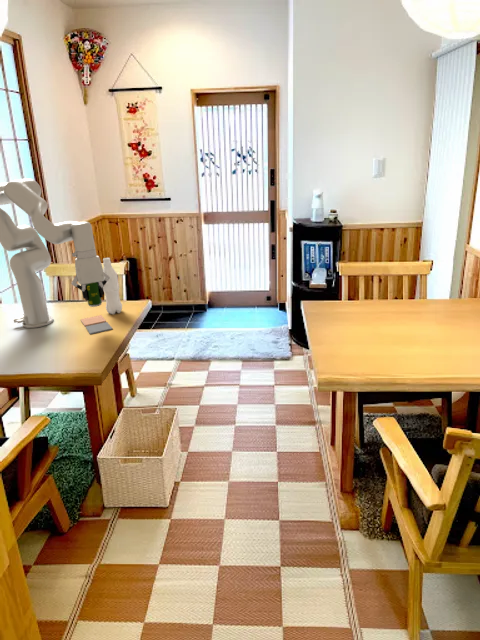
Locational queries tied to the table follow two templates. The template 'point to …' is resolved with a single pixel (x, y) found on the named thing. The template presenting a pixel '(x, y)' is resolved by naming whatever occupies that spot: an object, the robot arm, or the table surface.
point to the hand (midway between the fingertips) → (94, 297)
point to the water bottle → (111, 288)
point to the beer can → (93, 294)
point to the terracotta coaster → (93, 320)
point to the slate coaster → (99, 328)
